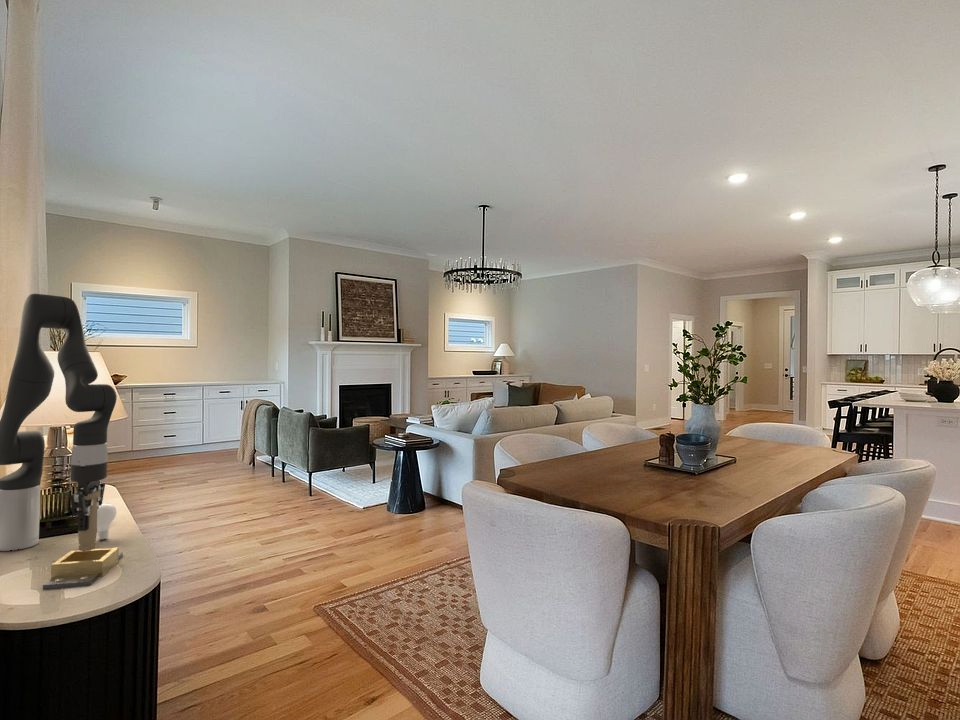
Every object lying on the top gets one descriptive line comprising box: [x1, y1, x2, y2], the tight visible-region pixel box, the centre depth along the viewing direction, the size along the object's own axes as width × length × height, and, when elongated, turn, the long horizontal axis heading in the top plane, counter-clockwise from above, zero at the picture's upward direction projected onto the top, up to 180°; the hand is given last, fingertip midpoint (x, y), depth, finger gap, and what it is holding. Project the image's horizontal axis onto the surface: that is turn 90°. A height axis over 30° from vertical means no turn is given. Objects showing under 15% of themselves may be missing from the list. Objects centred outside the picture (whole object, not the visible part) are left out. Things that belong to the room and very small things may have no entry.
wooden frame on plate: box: [42, 547, 124, 590], centre depth 132 cm, size 11×20×4 cm, turn 16°
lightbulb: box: [97, 502, 117, 541], centre depth 155 cm, size 6×6×11 cm
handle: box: [77, 490, 101, 551], centre depth 132 cm, size 5×6×15 cm
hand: (87, 527), depth 132 cm, fingers closed on handle, 4 cm apart
